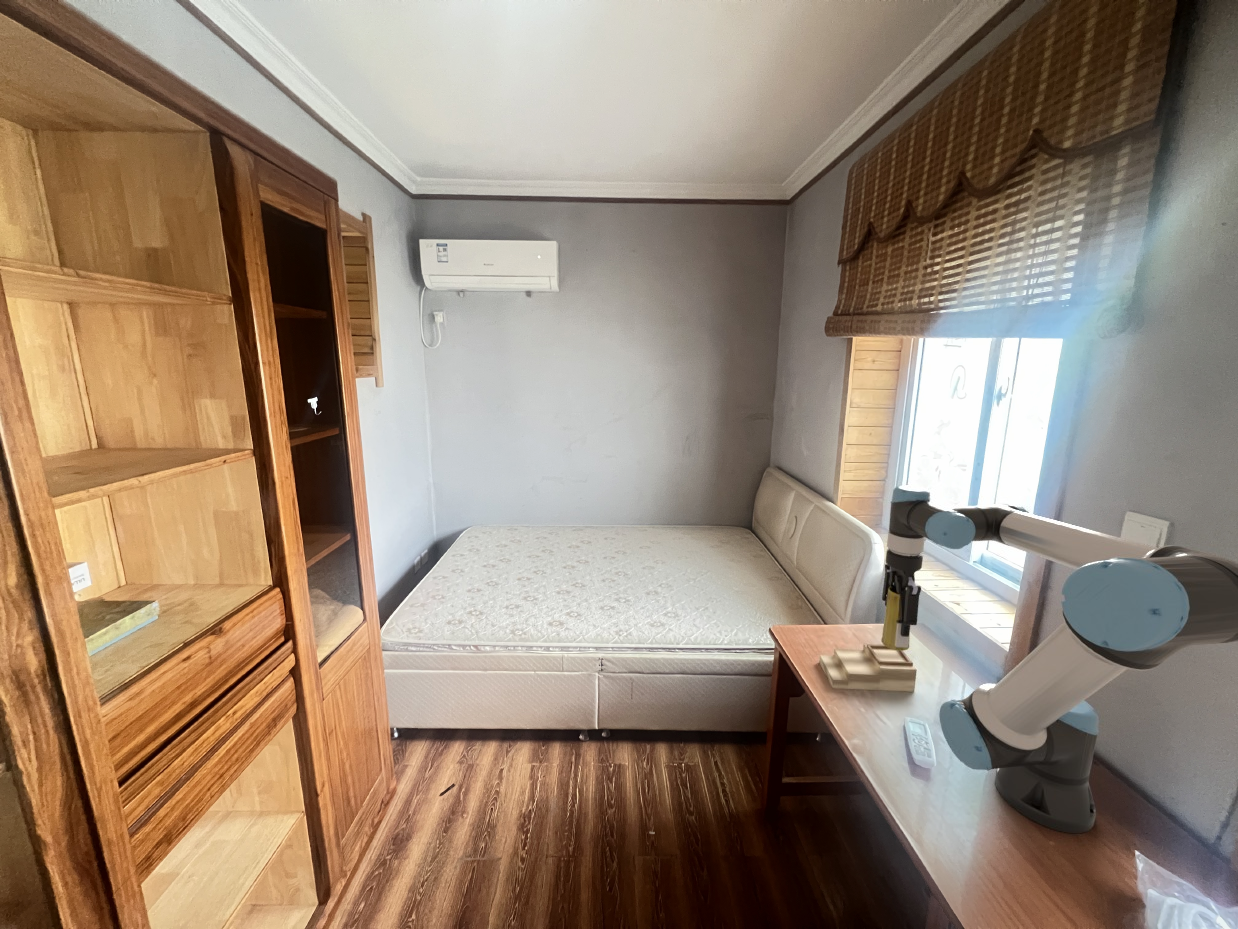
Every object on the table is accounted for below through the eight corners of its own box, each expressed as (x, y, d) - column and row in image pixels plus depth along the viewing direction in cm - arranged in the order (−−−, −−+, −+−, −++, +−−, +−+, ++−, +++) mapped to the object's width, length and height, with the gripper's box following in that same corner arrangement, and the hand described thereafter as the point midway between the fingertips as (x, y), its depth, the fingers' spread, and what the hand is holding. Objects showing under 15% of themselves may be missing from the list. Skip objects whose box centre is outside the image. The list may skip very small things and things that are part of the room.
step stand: (914, 691, 132) (916, 666, 131) (832, 688, 134) (834, 663, 133) (894, 665, 144) (896, 642, 142) (819, 662, 146) (820, 639, 144)
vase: (903, 654, 118) (909, 599, 115) (876, 643, 123) (882, 590, 120) (913, 644, 122) (919, 590, 119) (886, 634, 127) (892, 582, 124)
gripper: (942, 566, 108) (930, 662, 113) (903, 537, 126) (894, 620, 131) (906, 566, 109) (896, 660, 114) (872, 536, 127) (864, 619, 132)
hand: (895, 639), depth 122 cm, fingers closed on vase, 6 cm apart
